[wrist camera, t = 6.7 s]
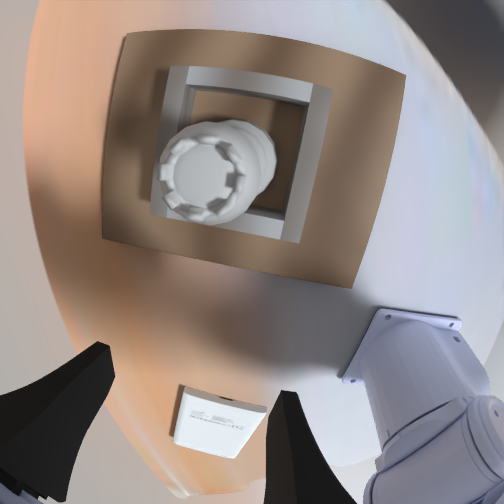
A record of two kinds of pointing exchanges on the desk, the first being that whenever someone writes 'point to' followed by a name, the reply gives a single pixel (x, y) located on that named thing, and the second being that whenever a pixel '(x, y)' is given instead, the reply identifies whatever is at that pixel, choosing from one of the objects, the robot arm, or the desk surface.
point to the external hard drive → (215, 423)
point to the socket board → (280, 131)
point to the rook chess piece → (216, 170)
